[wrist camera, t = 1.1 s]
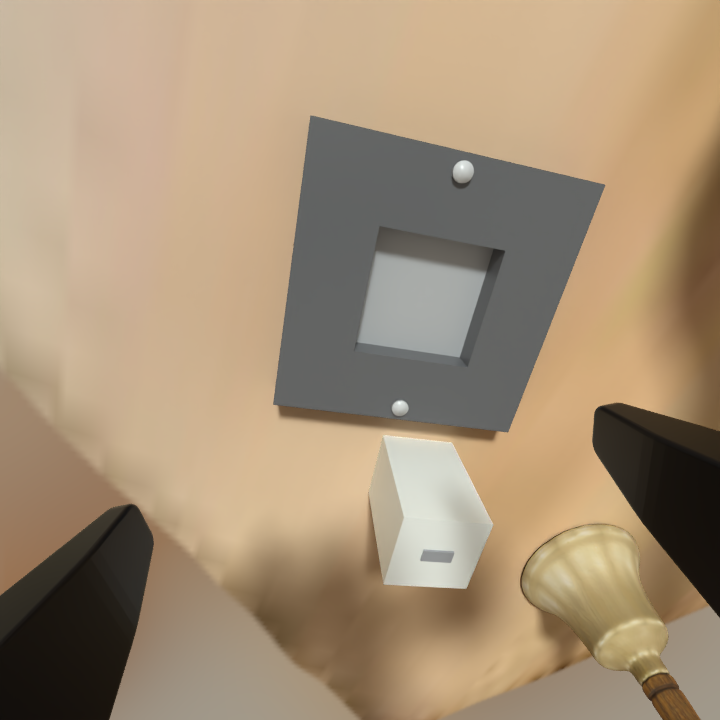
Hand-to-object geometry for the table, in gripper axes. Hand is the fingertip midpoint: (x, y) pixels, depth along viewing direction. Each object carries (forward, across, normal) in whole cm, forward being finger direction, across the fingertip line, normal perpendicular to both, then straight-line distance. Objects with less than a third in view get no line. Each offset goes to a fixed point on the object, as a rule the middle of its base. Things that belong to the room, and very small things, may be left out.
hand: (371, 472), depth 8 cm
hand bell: (+12, -13, +22) cm, 28 cm away
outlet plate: (+12, -4, 0) cm, 13 cm away
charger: (+12, -2, +10) cm, 16 cm away
